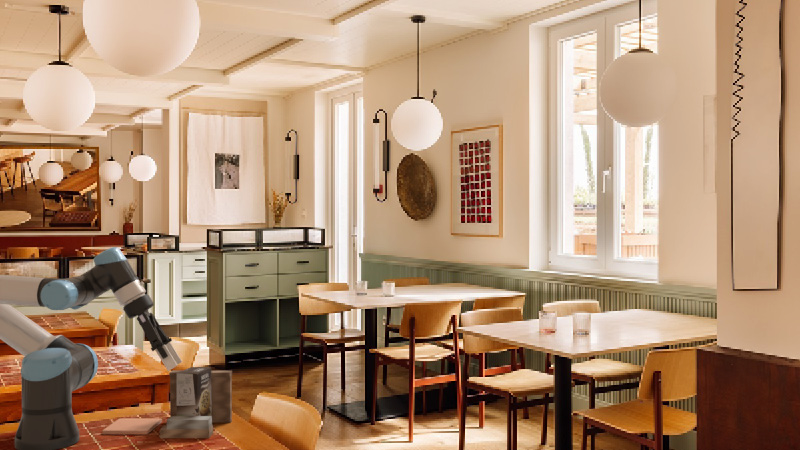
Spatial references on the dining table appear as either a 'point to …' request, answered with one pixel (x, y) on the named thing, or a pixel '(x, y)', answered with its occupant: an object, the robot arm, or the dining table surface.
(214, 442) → the dining table surface
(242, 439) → the dining table surface
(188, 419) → the offcut stack
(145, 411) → the dining table surface
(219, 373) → the brown rectangular wooden panel
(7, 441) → the dining table surface
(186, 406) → the coffee box
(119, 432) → the terracotta tile
